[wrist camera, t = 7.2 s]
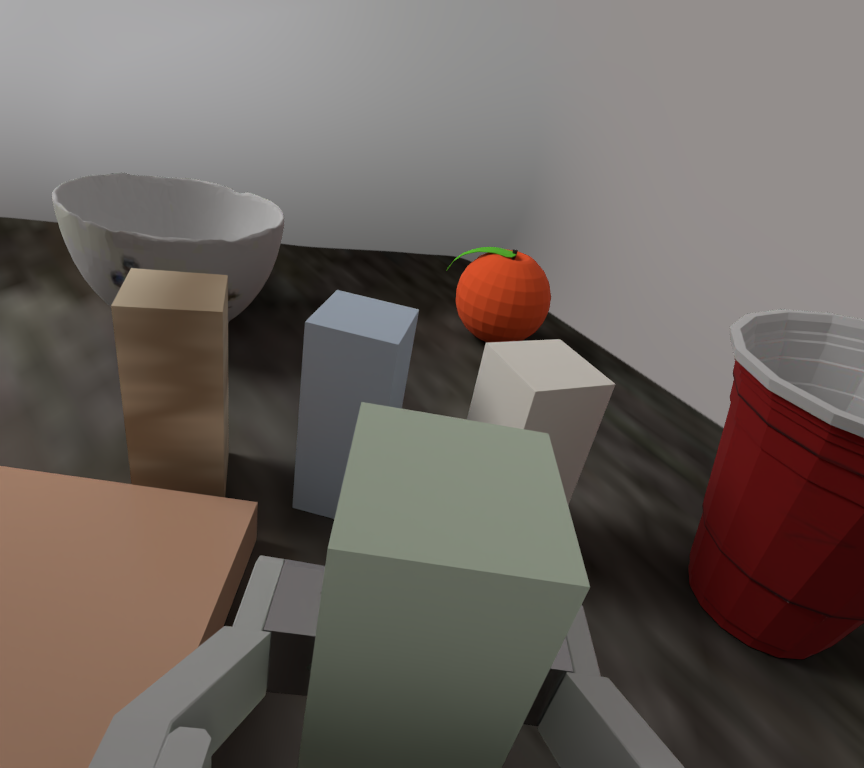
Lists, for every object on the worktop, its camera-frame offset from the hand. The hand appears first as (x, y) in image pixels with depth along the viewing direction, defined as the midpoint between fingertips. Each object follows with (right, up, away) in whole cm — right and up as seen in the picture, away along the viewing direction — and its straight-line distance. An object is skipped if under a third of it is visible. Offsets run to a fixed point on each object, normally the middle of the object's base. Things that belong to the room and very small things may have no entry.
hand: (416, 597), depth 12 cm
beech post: (-11, 0, +14) cm, 17 cm away
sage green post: (-1, -5, +2) cm, 5 cm away
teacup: (-16, +9, +27) cm, 33 cm away
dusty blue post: (-4, -1, +15) cm, 15 cm away
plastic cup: (+14, -5, +13) cm, 20 cm away
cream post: (+3, -2, +14) cm, 14 cm away
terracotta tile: (-12, -4, +7) cm, 14 cm away
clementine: (+4, +8, +32) cm, 34 cm away
